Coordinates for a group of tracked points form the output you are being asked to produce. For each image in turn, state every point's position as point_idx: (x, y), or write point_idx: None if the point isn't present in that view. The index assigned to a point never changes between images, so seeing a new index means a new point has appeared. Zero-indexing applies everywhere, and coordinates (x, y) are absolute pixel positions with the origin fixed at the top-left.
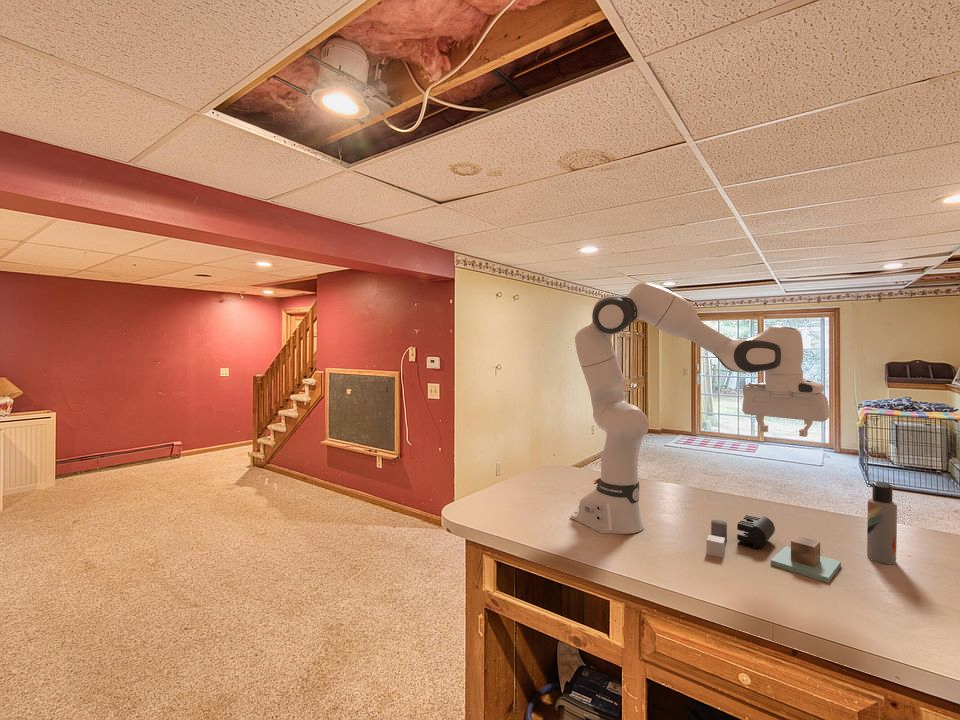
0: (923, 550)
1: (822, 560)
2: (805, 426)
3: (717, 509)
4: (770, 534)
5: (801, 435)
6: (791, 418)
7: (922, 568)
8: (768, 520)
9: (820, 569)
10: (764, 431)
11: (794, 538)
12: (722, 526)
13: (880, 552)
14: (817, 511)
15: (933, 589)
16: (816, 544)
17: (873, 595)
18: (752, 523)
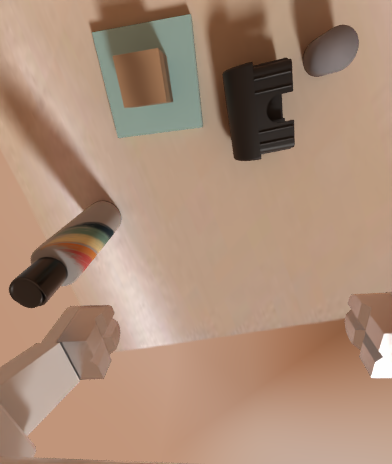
0: (96, 287)
1: (135, 113)
2: (13, 376)
3: (372, 229)
4: (228, 117)
5: (93, 307)
6: (78, 462)
7: None
8: (244, 149)
9: None
10: (367, 294)
11: (160, 74)
12: (322, 37)
13: (92, 206)
14: (235, 331)
15: (25, 163)
16: (119, 80)
17: (40, 54)
18: (262, 90)
